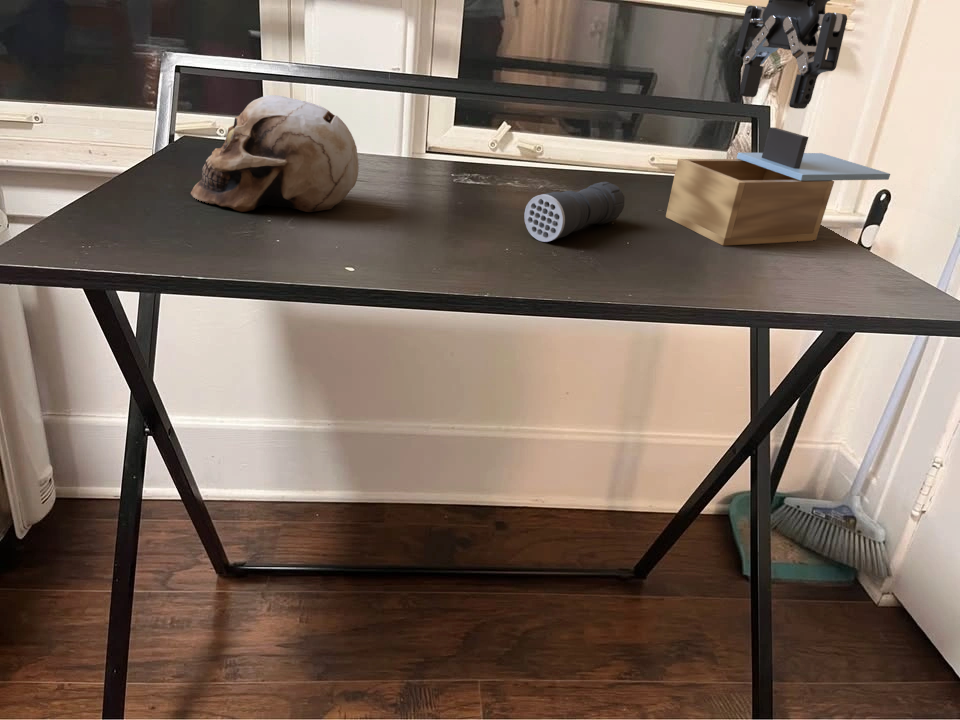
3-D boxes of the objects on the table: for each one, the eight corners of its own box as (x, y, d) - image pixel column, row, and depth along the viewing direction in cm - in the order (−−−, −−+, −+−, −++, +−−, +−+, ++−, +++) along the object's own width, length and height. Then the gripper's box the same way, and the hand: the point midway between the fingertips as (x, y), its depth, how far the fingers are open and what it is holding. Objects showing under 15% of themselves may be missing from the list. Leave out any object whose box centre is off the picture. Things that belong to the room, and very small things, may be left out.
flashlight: (589, 214, 100) (596, 174, 98) (624, 225, 97) (632, 184, 95) (521, 234, 89) (527, 189, 87) (558, 247, 86) (566, 201, 84)
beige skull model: (182, 188, 92) (187, 75, 86) (312, 193, 102) (324, 92, 96) (227, 231, 81) (235, 105, 75) (367, 231, 91) (383, 120, 86)
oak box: (815, 240, 100) (834, 181, 96) (722, 245, 93) (739, 182, 90) (753, 214, 109) (768, 159, 106) (665, 217, 103) (677, 158, 99)
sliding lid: (888, 179, 100) (901, 143, 98) (800, 180, 94) (812, 142, 91) (820, 158, 110) (830, 125, 107) (736, 158, 103) (745, 122, 101)
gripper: (740, -51, 89) (710, 92, 96) (834, -51, 78) (791, 111, 85) (787, -44, 92) (754, 94, 99) (884, -43, 81) (839, 112, 88)
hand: (771, 102), depth 92 cm, fingers open, 8 cm apart
